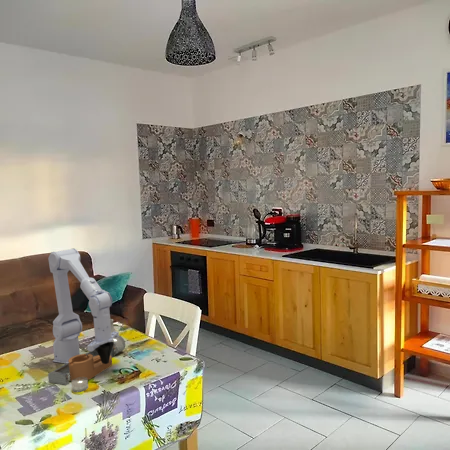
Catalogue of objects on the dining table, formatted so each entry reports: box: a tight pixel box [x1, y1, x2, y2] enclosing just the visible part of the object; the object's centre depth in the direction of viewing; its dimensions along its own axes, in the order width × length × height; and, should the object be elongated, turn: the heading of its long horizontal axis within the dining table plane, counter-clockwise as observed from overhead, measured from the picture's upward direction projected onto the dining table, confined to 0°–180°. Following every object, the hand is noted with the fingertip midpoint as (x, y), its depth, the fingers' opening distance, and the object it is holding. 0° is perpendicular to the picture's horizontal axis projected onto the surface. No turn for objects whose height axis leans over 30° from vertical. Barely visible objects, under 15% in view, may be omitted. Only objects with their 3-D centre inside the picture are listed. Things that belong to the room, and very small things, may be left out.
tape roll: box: [71, 377, 89, 393], centre depth 136 cm, size 5×5×3 cm
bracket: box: [68, 353, 113, 382], centre depth 150 cm, size 18×8×7 cm, turn 156°
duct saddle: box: [47, 335, 126, 386], centre depth 154 cm, size 10×30×7 cm, turn 156°
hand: (105, 362), depth 148 cm, fingers closed
